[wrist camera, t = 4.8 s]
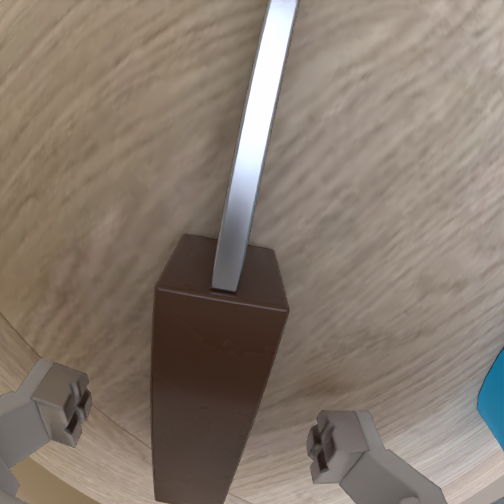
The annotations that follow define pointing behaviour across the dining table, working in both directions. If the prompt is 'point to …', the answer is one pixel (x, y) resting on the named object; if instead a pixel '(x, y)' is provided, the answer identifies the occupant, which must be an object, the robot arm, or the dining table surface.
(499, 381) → the mug
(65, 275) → the dining table surface
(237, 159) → the butter knife
